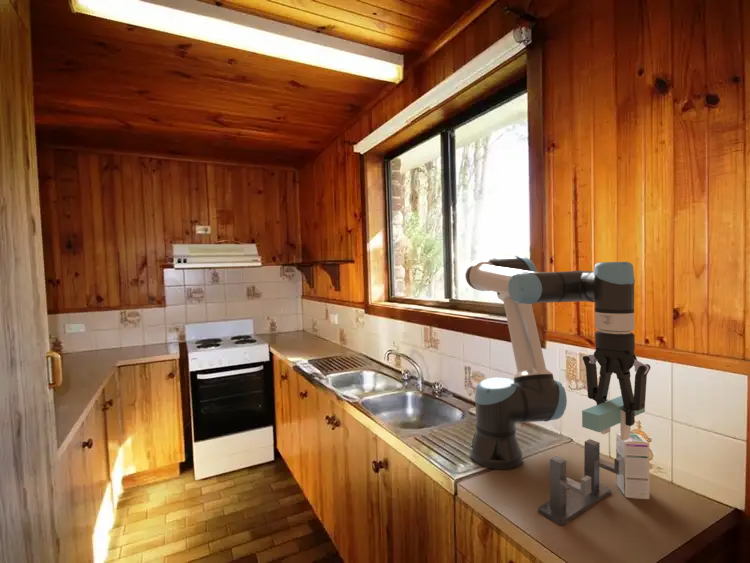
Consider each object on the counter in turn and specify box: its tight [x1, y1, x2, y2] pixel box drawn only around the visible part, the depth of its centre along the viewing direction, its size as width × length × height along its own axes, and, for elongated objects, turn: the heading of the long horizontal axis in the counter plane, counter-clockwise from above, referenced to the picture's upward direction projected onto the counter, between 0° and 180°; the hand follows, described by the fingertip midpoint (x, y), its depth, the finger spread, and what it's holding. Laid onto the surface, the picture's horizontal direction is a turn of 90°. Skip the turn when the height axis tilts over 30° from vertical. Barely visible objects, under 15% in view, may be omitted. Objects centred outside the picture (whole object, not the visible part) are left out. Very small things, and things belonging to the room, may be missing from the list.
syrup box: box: [615, 431, 650, 500], centre depth 99 cm, size 6×6×14 cm
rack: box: [537, 438, 624, 527], centre depth 94 cm, size 10×22×13 cm, turn 123°
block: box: [581, 393, 646, 433], centre depth 87 cm, size 4×20×4 cm, turn 122°
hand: (615, 435), depth 87 cm, fingers closed on block, 3 cm apart
